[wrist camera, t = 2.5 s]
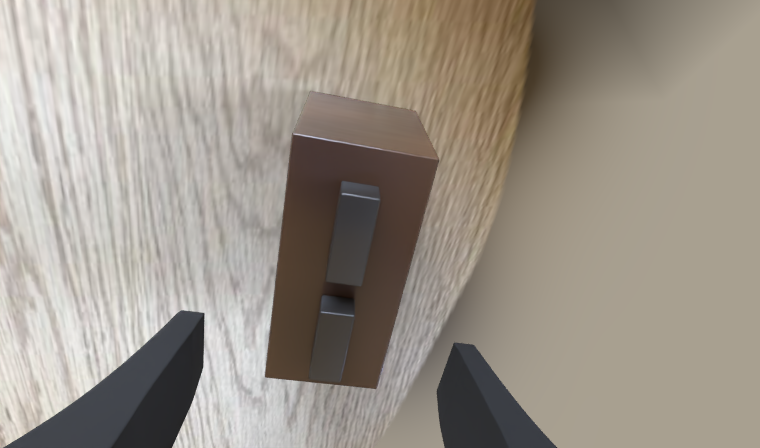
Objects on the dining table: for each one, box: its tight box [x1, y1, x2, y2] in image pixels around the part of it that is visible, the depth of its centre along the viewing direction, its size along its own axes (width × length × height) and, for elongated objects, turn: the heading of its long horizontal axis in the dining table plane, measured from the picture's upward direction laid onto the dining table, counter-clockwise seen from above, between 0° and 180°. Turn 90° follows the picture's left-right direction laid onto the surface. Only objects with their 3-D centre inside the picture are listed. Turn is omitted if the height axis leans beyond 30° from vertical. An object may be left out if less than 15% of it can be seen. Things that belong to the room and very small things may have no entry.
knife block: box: [265, 91, 439, 389], centre depth 18 cm, size 4×10×7 cm, turn 169°
